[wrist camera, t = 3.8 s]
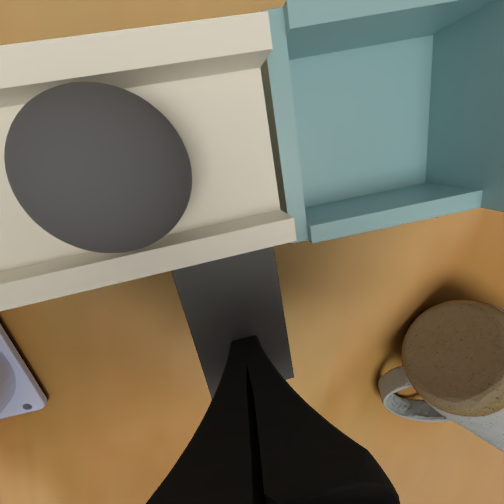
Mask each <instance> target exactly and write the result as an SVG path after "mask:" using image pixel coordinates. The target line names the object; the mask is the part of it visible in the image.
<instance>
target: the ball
mask: <svg viewBox="0 0 504 504" xmlns="http://www.w3.org/2000/svg"><path fill="white" fill-rule="evenodd" d="M4 161H5V169H6V174H7V178H8V181H9V184H10V186H11V189H12V191H13V193H14V195H15V197H16V199H17V200H18V202H19V204H20V205H21V206H22V208H23V209H24V210H25V212H26V213H27V214H28V215H29V216H30V217H31V218H32V220H33V221H34V222H35V223H37V224H38V225H39V226H40V227H41V228H42V229H44V230H45V231H47V232H48V233H49V234H51V235H52V236H54V237H56V238H58V239H59V240H61V241H63V242H65V243H67V244H70V245H72V246H75V247H77V248H81V249H84V250H87V251H93V252H99V253H124V252H130V251H135V250H138V249H141V248H144V247H146V246H149V245H151V244H153V243H155V242H156V241H158V240H160V239H161V238H163V237H164V236H165V235H167V234H168V233H169V232H170V231H171V230H172V229H173V228H174V227H175V226H176V224H177V223H178V222H179V220H180V219H181V217H182V216H183V214H184V212H185V210H186V208H187V205H188V202H189V200H190V195H191V190H192V169H191V164H190V159H189V156H188V153H187V150H186V147H185V145H184V143H183V141H182V139H181V137H180V136H179V134H178V132H177V131H176V129H175V128H174V127H173V125H172V124H171V123H170V121H169V120H168V119H167V118H166V117H165V116H164V115H163V114H162V113H161V112H160V111H159V110H158V109H156V108H155V107H154V106H153V105H151V104H150V103H149V102H147V101H146V100H144V99H143V98H141V97H140V96H138V95H136V94H134V93H132V92H130V91H128V90H125V89H122V88H119V87H116V86H113V85H109V84H104V83H98V82H85V81H84V82H71V83H66V84H62V85H58V86H55V87H53V88H50V89H48V90H45V91H43V92H41V93H40V94H38V95H36V96H35V97H33V98H32V99H31V100H30V101H28V102H27V103H26V104H25V105H24V106H23V107H22V109H21V110H20V111H19V112H18V113H17V115H16V117H15V118H14V120H13V122H12V124H11V126H10V129H9V131H8V134H7V137H6V143H5V149H4Z"/></svg>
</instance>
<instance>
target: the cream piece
mask: <svg viewBox="0 0 504 504" xmlns="http://www.w3.org/2000/svg"><path fill="white" fill-rule="evenodd" d="M272 49H273V47H272V39H271V31H270V23H269V15H268V11H265V12H257V13H250V14H242V15H234V16H226V17H218V18H211V19H203V20H195V21H187V22H180V23H172V24H164V25H156V26H148V27H141V28H133V29H125V30H117V31H110V32H102V33H94V34H86V35H79V36H71V37H63V38H55V39H47V40H40V41H32V42H24V43H16V44H9V45H1V46H0V311H4V310H8V309H12V308H17V307H21V306H25V305H29V304H33V303H38V302H42V301H46V300H50V299H54V298H59V297H63V296H67V295H71V294H75V293H79V292H84V291H88V290H92V289H96V288H100V287H105V286H109V285H113V284H117V283H121V282H126V281H130V280H134V279H138V278H142V277H147V276H151V275H155V274H159V273H163V272H168V271H171V272H172V275H173V278H174V281H175V284H176V287H177V290H178V294H179V297H180V300H181V303H182V306H183V309H184V312H185V316H186V319H187V322H188V325H189V328H190V331H191V334H192V338H193V341H194V344H195V347H196V350H197V353H198V357H199V360H200V363H201V366H202V369H203V372H204V375H205V379H206V382H207V385H208V388H209V391H210V394H211V397H212V399H213V397H214V394H215V392H216V390H217V387H218V385H219V382H220V379H221V377H222V374H223V371H224V368H225V365H226V361H227V358H228V354H229V349H230V344H231V342H232V341H234V340H238V339H242V338H246V337H250V336H254V335H255V336H257V337H258V339H259V342H260V344H261V346H262V348H263V350H264V351H265V353H266V355H267V356H268V358H269V359H270V361H271V362H272V364H273V365H274V366H275V368H276V369H277V370H278V372H279V373H280V374H281V376H282V377H283V378H284V379H285V380H286V379H290V378H293V377H294V374H293V367H292V361H291V355H290V349H289V342H288V336H287V330H286V324H285V317H284V311H283V305H282V299H281V292H280V286H279V280H278V274H277V267H276V261H275V255H274V249H273V246H277V245H281V244H285V243H289V242H294V241H297V239H296V231H295V223H294V217H292V216H290V215H288V214H287V213H285V212H283V211H282V210H280V203H279V196H278V189H277V182H276V175H275V168H274V161H273V154H272V147H271V140H270V133H269V126H268V118H267V111H266V104H265V97H264V90H263V83H262V76H261V69H260V67H261V66H262V64H263V63H264V61H265V60H266V58H267V57H268V55H269V54H270V52H271V51H272ZM84 81H85V82H98V83H104V84H109V85H113V86H116V87H119V88H122V89H125V90H128V91H130V92H132V93H134V94H136V95H138V96H140V97H141V98H143V99H144V100H146V101H147V102H149V103H150V104H151V105H153V106H154V107H155V108H156V109H158V110H159V111H160V112H161V113H162V114H163V115H164V116H165V117H166V118H167V119H168V120H169V121H170V123H171V124H172V125H173V127H174V128H175V129H176V131H177V132H178V134H179V136H180V137H181V139H182V141H183V143H184V145H185V147H186V150H187V153H188V156H189V159H190V164H191V169H192V190H191V195H190V200H189V202H188V205H187V208H186V210H185V212H184V214H183V216H182V217H181V219H180V220H179V222H178V223H177V224H176V226H175V227H174V228H173V229H172V230H171V231H170V232H169V233H168V234H167V235H165V236H164V237H163V238H161V239H160V240H158V241H156V242H155V243H153V244H151V245H149V246H146V247H144V248H141V249H138V250H135V251H130V252H124V253H99V252H93V251H87V250H84V249H81V248H77V247H75V246H72V245H70V244H67V243H65V242H63V241H61V240H59V239H58V238H56V237H54V236H52V235H51V234H49V233H48V232H47V231H45V230H44V229H42V228H41V227H40V226H39V225H38V224H37V223H35V222H34V221H33V220H32V218H31V217H30V216H29V215H28V214H27V213H26V212H25V210H24V209H23V208H22V206H21V205H20V204H19V202H18V200H17V199H16V197H15V195H14V193H13V191H12V189H11V186H10V184H9V181H8V178H7V174H6V169H5V161H4V149H5V143H6V137H7V134H8V131H9V129H10V126H11V124H12V122H13V120H14V118H15V117H16V115H17V113H18V112H19V111H20V110H21V109H22V107H23V106H24V105H25V104H26V103H27V102H28V101H30V100H31V99H32V98H33V97H35V96H36V95H38V94H40V93H41V92H43V91H45V90H48V89H50V88H53V87H55V86H58V85H62V84H66V83H71V82H84Z"/></svg>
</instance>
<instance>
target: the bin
mask: <svg viewBox="0 0 504 504" xmlns="http://www.w3.org/2000/svg"><path fill="white" fill-rule="evenodd" d="M265 11H268V15H269V23H270V31H271V39H272V47H273V49H272V51H271V52H270V54H269V55H268V57H267V58H266V60H265V61H264V63H263V64H262V66H261V67H260V69H261V76H262V83H263V90H264V97H265V104H266V111H267V118H268V126H269V133H270V140H271V147H272V154H273V161H274V168H275V175H276V182H277V189H278V196H279V203H280V210H282V211H283V212H285V213H287V214H288V215H290V216H292V217H294V223H295V231H296V239H297V241H294V242H290V243H291V244H293V243H297V242H302V241H307V240H309V241H310V242H311V243H316V242H321V241H326V240H331V239H335V238H340V237H345V236H349V235H354V234H359V233H363V232H368V231H373V230H377V229H382V228H387V227H391V226H396V225H401V224H406V223H410V222H415V221H420V220H424V219H429V218H434V217H438V216H443V215H448V214H452V213H457V212H462V211H466V210H471V209H476V208H486V209H491V210H496V211H502V212H504V0H286V2H285V4H284V6H283V7H281V8H275V9H269V10H263V11H260V12H265Z"/></svg>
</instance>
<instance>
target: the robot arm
mask: <svg viewBox="0 0 504 504" xmlns="http://www.w3.org/2000/svg"><path fill="white" fill-rule="evenodd" d="M46 403H47V398H46V396H45V395H44V393H43V392H42V390H41V388H40V387H39V385H38V384H37V382H36V380H35V379H34V377H33V376H32V374H31V372H30V371H29V369H28V368H27V366H26V364H25V363H24V361H23V359H22V358H21V356H20V355H19V353H18V351H17V350H16V348H15V347H14V345H13V343H12V342H11V340H10V339H9V337H8V335H7V334H6V332H5V331H4V329H3V327H2V326H1V324H0V419H2V418H6V417H11V416H15V415H19V414H23V413H28V412H32V411H36V410H40V409H42V408H43V407H44V406H45V405H46ZM146 504H400V501H399V496H398V494H397V492H396V490H395V488H394V486H393V485H392V483H391V481H390V480H389V478H388V477H387V475H386V474H385V472H384V471H383V469H382V468H381V467H380V465H379V464H378V463H377V461H376V460H375V459H374V457H373V456H372V455H371V454H370V452H369V451H368V450H367V449H365V448H364V447H362V446H361V445H359V444H358V443H356V442H355V441H353V440H352V439H351V438H349V437H348V436H346V435H345V434H344V433H342V432H341V431H340V430H338V429H337V428H336V427H334V426H333V425H332V424H330V423H329V422H328V421H327V420H326V419H325V418H323V417H322V416H321V415H320V414H319V413H318V412H316V411H315V410H314V409H313V408H312V407H311V406H309V405H308V404H307V403H306V402H305V401H304V400H303V399H302V398H301V397H300V396H299V395H298V394H297V393H296V392H295V391H294V390H293V388H292V387H291V386H290V385H289V384H288V383H287V382H286V380H285V379H284V378H283V377H282V376H281V374H280V373H279V372H278V370H277V369H276V368H275V366H274V365H273V364H272V362H271V361H270V359H269V358H268V356H267V355H266V353H265V351H264V350H263V348H262V346H261V344H260V342H259V339H258V337H257V336H255V335H254V336H250V337H246V338H242V339H238V340H234V341H232V342H231V344H230V349H229V354H228V358H227V361H226V365H225V368H224V371H223V374H222V377H221V379H220V382H219V385H218V387H217V390H216V392H215V394H214V397H213V399H212V401H211V404H210V406H209V408H208V410H207V412H206V414H205V416H204V418H203V420H202V422H201V423H200V425H199V427H198V429H197V430H196V432H195V434H194V436H193V437H192V439H191V441H190V442H189V444H188V446H187V447H186V449H185V450H184V452H183V453H182V455H181V456H180V458H179V459H178V461H177V462H176V464H175V465H174V467H173V468H172V470H171V471H170V473H169V474H168V475H167V477H166V478H165V479H164V481H163V482H162V483H161V485H160V486H159V487H158V488H157V490H156V491H155V492H154V494H153V495H152V496H151V498H150V499H149V500H148V502H147V503H146Z"/></svg>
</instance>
